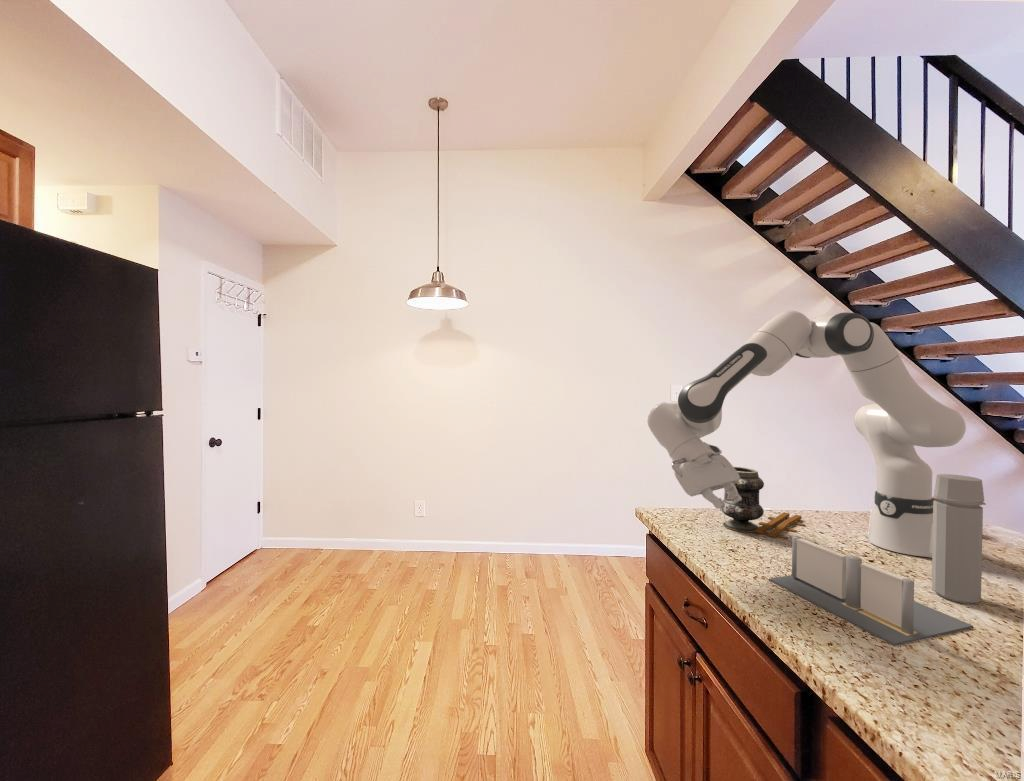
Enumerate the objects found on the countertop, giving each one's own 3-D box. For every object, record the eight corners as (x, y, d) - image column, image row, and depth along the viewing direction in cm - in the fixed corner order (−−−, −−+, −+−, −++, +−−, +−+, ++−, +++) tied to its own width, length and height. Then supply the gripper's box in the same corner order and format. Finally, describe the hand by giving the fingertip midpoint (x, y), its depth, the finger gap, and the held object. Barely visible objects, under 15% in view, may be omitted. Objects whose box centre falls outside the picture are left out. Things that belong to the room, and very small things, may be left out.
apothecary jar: (771, 529, 131) (772, 470, 130) (750, 536, 124) (751, 475, 124) (732, 518, 141) (733, 463, 140) (711, 525, 134) (711, 467, 134)
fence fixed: (851, 604, 86) (852, 554, 86) (917, 635, 75) (918, 579, 75) (842, 605, 86) (843, 556, 85) (907, 638, 75) (908, 581, 75)
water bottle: (986, 610, 84) (988, 483, 83) (930, 597, 89) (932, 477, 89) (980, 593, 91) (982, 475, 90) (928, 581, 96) (930, 470, 95)
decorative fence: (746, 533, 128) (784, 543, 121) (746, 527, 128) (784, 536, 121) (775, 516, 145) (810, 523, 138) (775, 510, 145) (810, 517, 137)
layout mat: (835, 569, 102) (835, 567, 102) (973, 627, 78) (973, 624, 78) (768, 580, 97) (768, 578, 97) (894, 646, 72) (894, 643, 72)
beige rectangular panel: (795, 574, 98) (796, 536, 97) (846, 599, 87) (847, 555, 86) (790, 575, 97) (790, 537, 97) (840, 600, 86) (841, 556, 86)
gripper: (676, 453, 102) (716, 504, 94) (721, 446, 114) (760, 490, 106) (660, 469, 105) (697, 519, 98) (705, 460, 117) (741, 504, 110)
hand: (730, 504), depth 102 cm, fingers open, 7 cm apart
